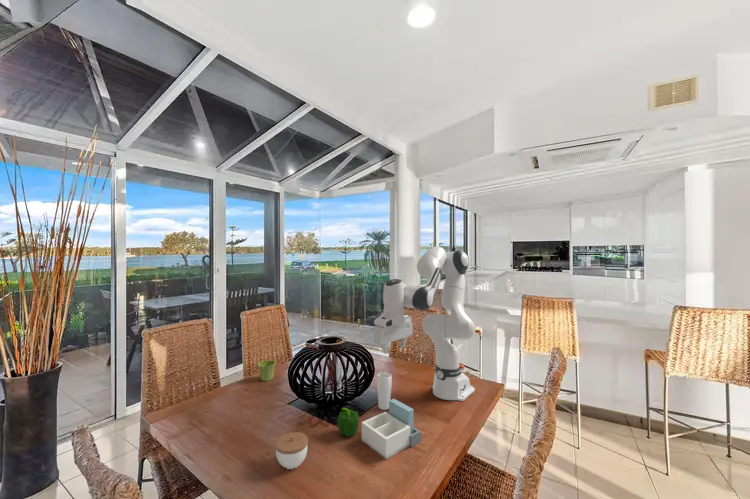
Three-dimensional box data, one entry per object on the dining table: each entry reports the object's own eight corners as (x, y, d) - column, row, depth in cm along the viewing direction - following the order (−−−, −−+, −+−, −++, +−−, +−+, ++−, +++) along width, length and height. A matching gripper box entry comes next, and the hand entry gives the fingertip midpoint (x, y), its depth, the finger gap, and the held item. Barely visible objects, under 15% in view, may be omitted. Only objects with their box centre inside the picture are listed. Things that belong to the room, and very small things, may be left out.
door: (393, 427, 133) (393, 398, 133) (413, 440, 125) (413, 409, 125) (388, 430, 132) (389, 400, 131) (408, 443, 123) (408, 411, 123)
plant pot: (255, 378, 180) (254, 363, 180) (271, 374, 187) (271, 358, 186) (262, 384, 173) (262, 368, 173) (279, 379, 180) (278, 363, 179)
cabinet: (392, 423, 136) (392, 406, 136) (421, 441, 124) (421, 423, 124) (359, 439, 126) (359, 421, 125) (388, 460, 113) (388, 440, 113)
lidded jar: (279, 454, 117) (279, 428, 117) (309, 452, 118) (309, 426, 117) (272, 475, 106) (272, 446, 106) (306, 473, 107) (305, 445, 107)
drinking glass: (390, 412, 145) (390, 378, 145) (375, 410, 147) (375, 377, 146) (392, 404, 152) (392, 372, 152) (378, 403, 153) (378, 371, 153)
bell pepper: (363, 431, 131) (363, 406, 131) (351, 442, 124) (351, 415, 124) (346, 425, 135) (346, 401, 135) (333, 435, 128) (333, 410, 128)
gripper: (405, 312, 148) (405, 342, 149) (370, 321, 135) (371, 354, 136) (416, 315, 143) (416, 346, 144) (381, 324, 130) (381, 358, 131)
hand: (394, 350), depth 140 cm, fingers open, 8 cm apart
